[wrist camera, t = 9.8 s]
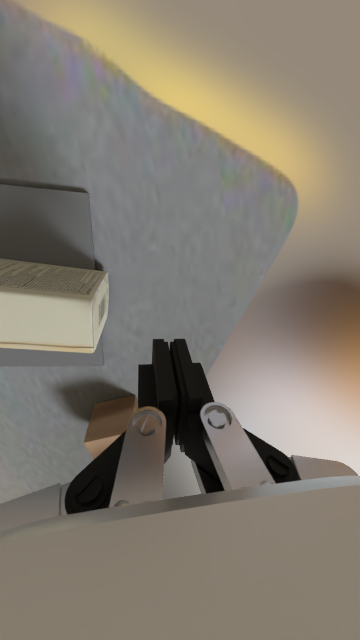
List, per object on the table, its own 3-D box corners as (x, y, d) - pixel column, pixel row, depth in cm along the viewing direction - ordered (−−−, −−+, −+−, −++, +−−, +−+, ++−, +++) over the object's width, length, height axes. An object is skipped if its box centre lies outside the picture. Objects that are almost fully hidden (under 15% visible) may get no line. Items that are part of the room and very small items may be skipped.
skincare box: (109, 315, 21) (-38, 302, 19) (109, 268, 19) (-56, 249, 17) (93, 356, 15) (-117, 344, 13) (91, 298, 13) (-159, 273, 11)
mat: (-120, 171, 14) (-127, 171, 14) (88, 193, 16) (87, 193, 16) (-32, 364, 22) (-35, 366, 21) (104, 363, 24) (103, 365, 23)
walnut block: (94, 403, 26) (83, 442, 22) (135, 394, 27) (132, 431, 22) (108, 428, 29) (100, 468, 25) (145, 420, 29) (144, 458, 25)
